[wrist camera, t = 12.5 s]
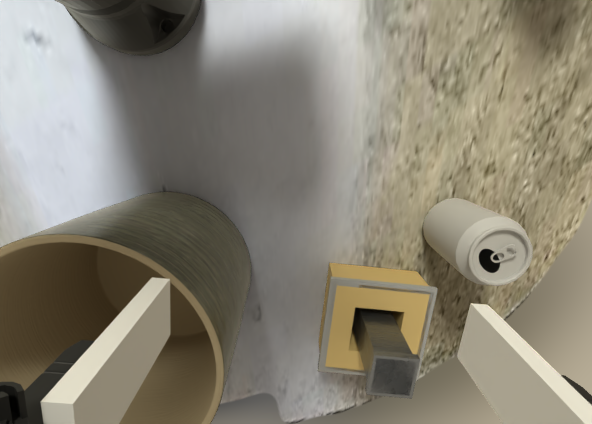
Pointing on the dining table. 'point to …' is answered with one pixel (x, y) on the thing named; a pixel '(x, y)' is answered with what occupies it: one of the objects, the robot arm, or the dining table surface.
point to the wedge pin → (384, 354)
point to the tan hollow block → (373, 295)
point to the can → (478, 241)
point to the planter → (131, 297)
